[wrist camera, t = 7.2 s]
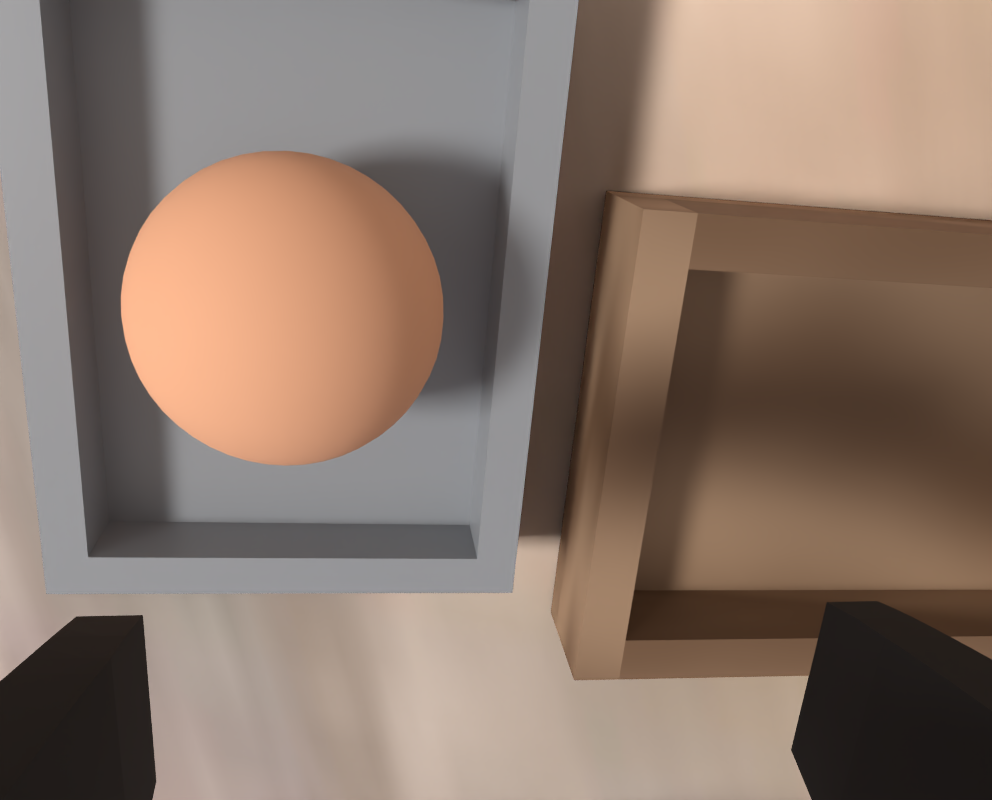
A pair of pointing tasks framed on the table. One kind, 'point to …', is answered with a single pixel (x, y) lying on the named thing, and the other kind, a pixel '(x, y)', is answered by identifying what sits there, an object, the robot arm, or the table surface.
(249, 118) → the tray
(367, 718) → the table surface
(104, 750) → the robot arm
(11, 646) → the table surface
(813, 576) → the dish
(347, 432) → the brown egg
